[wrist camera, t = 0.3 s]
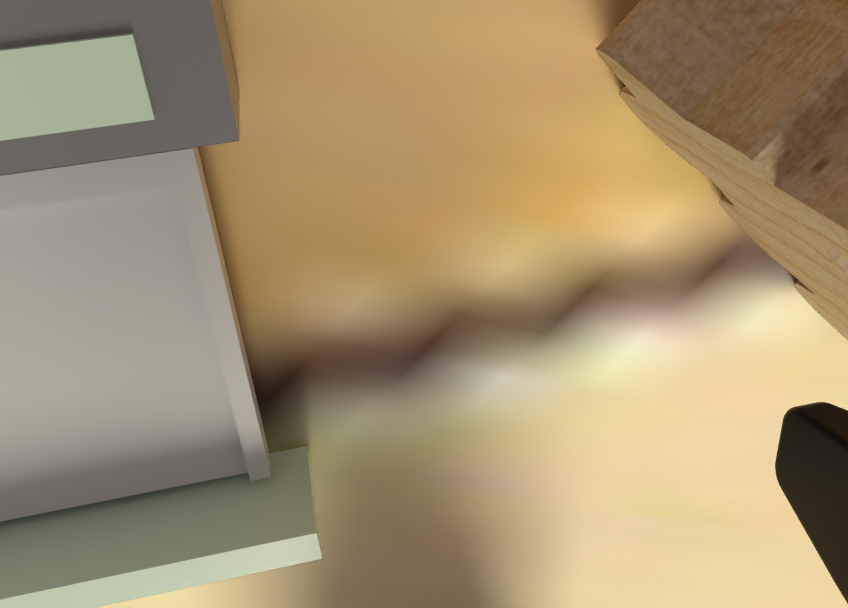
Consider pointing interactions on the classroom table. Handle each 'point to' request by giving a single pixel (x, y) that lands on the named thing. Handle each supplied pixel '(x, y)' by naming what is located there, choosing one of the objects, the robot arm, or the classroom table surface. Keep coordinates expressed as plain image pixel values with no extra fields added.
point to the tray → (130, 395)
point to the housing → (112, 80)
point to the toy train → (754, 120)
